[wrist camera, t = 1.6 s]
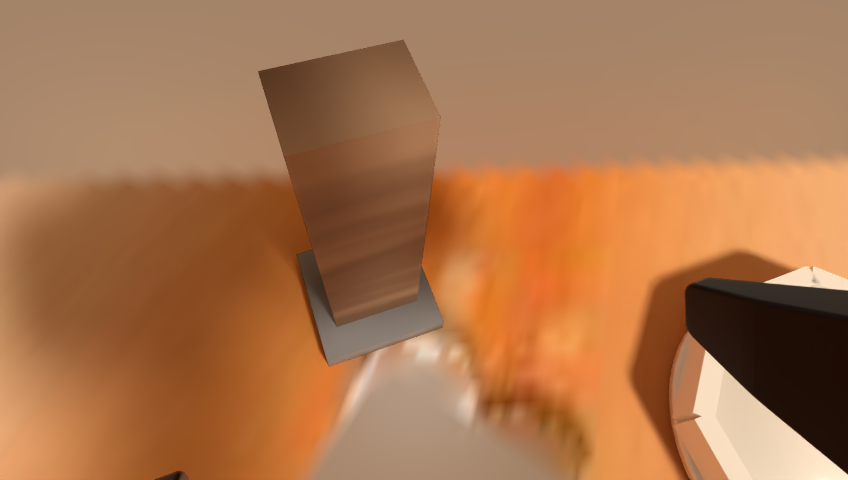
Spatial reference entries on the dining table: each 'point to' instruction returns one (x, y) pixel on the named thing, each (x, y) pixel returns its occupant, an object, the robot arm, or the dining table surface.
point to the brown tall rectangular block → (360, 191)
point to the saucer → (739, 416)
